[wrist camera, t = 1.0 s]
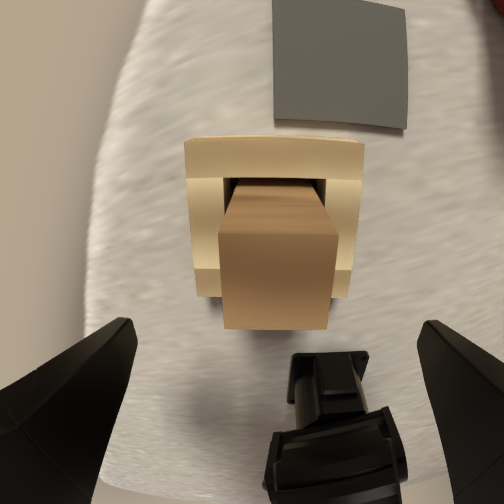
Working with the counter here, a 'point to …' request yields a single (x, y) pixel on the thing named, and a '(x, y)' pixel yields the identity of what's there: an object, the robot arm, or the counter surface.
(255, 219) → the peg
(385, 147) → the counter surface
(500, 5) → the mug
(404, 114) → the mat
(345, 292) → the holder
